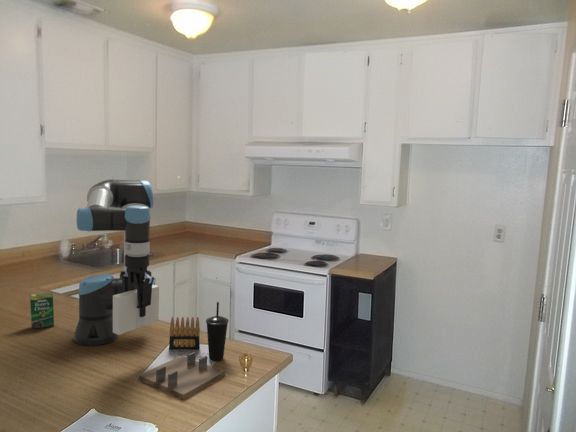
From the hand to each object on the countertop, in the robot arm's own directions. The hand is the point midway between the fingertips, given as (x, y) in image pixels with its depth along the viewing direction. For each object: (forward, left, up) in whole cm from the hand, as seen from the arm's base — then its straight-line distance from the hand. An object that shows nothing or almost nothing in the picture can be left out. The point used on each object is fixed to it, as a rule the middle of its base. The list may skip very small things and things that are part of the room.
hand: (136, 324), depth 149 cm
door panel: (0, 0, -1) cm, 1 cm away
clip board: (+19, +2, -13) cm, 23 cm away
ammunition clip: (+4, +18, -14) cm, 23 cm away
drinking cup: (+18, +19, -14) cm, 29 cm away
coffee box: (-53, -1, -14) cm, 54 cm away
